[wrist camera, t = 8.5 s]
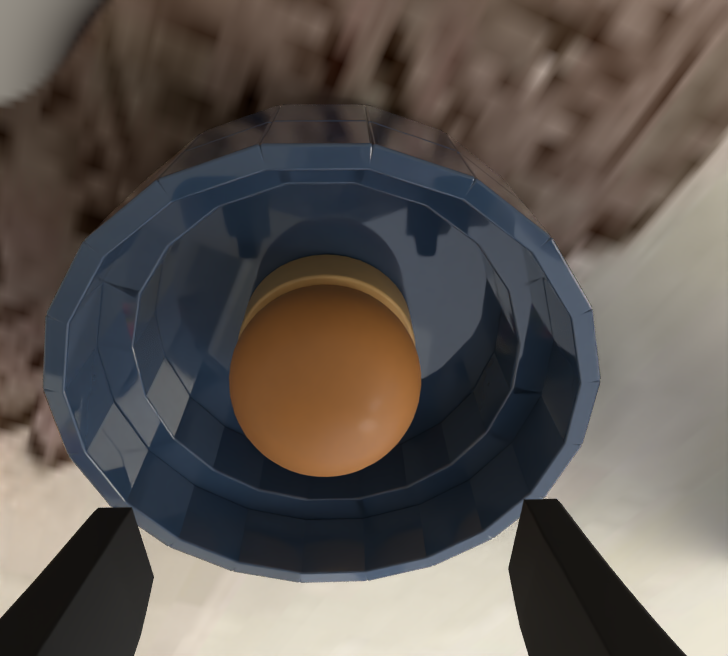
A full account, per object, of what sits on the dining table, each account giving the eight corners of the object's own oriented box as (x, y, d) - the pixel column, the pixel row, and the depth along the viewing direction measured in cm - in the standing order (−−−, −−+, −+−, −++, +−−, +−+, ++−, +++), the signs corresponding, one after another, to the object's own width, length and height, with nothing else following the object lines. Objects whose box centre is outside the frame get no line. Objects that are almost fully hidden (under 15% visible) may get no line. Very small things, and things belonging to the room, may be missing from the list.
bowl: (508, 468, 21) (545, 576, 17) (159, 475, 20) (116, 588, 17) (580, 100, 14) (669, 142, 10) (59, 100, 14) (-52, 144, 10)
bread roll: (407, 392, 18) (426, 517, 14) (253, 395, 18) (225, 522, 14) (415, 252, 16) (442, 352, 11) (235, 253, 15) (194, 355, 11)
